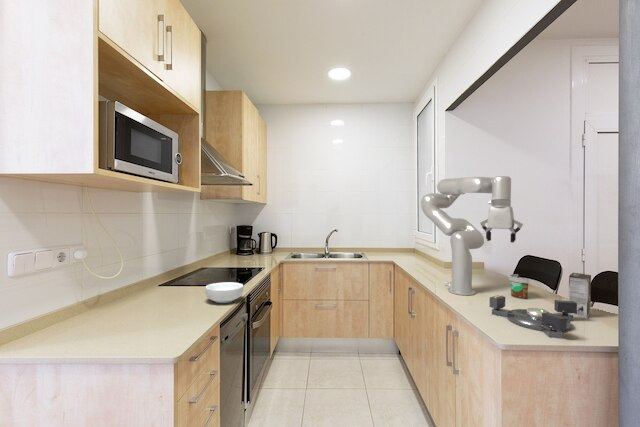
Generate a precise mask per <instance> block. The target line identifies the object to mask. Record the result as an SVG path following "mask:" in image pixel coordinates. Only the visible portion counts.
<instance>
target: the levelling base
mask: <svg viewBox="0 0 640 427" xmlns="http://www.w3.org/2000/svg"><path fill="white" fill-rule="evenodd" d="M553 308H554V311H555V312H556V313H555V312H554V313H552V312H549V311H548V310H547V309H544V308H538V307H528V308H526V309H524V308H523V309H522V308H516V309H510V310H509V309H505V308H498V309H495V308H492V309H491V315H494V316H498V317H503V318H506V319H507V320H508V322H510V323H512V324H513V325H517V326H519V327H522V328H526V329H530V330H533V331H539V332H542V333H543V334H545V335H546V336H547V337H548V338H555V339H563V333H565V332H568V331H570V330H571V322H573V321H574V315H570V314H571V313H575V314H577V303H576V302H574V301H569V300H561V299H559V300H558V299H554V307H553ZM568 313H569V314H568Z"/></svg>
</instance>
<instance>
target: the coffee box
mask: <svg viewBox="0 0 640 427" xmlns="http://www.w3.org/2000/svg"><path fill="white" fill-rule="evenodd" d="M568 279H569V280H568V301H574V302H576V303H577V314H575V313H571V314H570V315H573V317H574V316H575V317H580V318H586V319H587V318H589V316H590V314H591V305H592V304H591V302H592V301H591V298H592V297H591V295H592V293H591V292H592V275H591V274H585V273H580V272H579V273H578V272H572V273H571V274H569V276H568ZM568 314H569V313H568Z"/></svg>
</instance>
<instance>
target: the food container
mask: <svg viewBox="0 0 640 427" xmlns="http://www.w3.org/2000/svg"><path fill="white" fill-rule="evenodd" d="M508 280H509V282H510V295H511V297H512V298H515V299H516V298H517V299H521V300H528V297H529V295H528V293H529V285H530V279H529V278H524V277H521V276H519V274H518V273H516V274H510V275H509V277H508Z"/></svg>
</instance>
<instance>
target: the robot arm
mask: <svg viewBox="0 0 640 427" xmlns="http://www.w3.org/2000/svg"><path fill="white" fill-rule="evenodd" d="M436 189H437V191H438V193H433V192H432V193H427V194H424V195H423V196H422V198H421V200H420V205H421V210H422V212H423V214H424V215H425V216H426V218H428V219H429V220H430V221H431V222H432V223H433V224H434V225H435V226H436V227H437V228H438V230H440V231H441V232H442V233H443V234H444V235H445V236H448V237H450V239H449V240H450V241H449V242H450V247H451V248H450V249H451V281H450V282H448V281H444V286H445V287H448V292H449V293H450V294H454V295H459V296H474V295H476V290H474V289H473V288H472V287H473V283H472V282H473V256H472V253H471V251H470V250H477V249H480V248H482V246H484V243H485V239H486V240H487V242H490V241H492V232H491V231H492V230H494V229H498V230H509V231H510V232H511V233H510V243H512V244H513V243H515V241H516V239H517V238H516V234H517V233H518V232H519V231H520V230H521V229H522V227H523V226H524V225H523V223H521V222H520V221H518V220H516V219H515V216H514V209H513V206H511V205H512V203H511V202H512V178H511V177H510V176H509V175H507V176H506V175H501V176H500V175H499V176H494V177H491V176H490V177H489V176H469V177H457V178H456V177H454V178H444V179H441V180H439V181H438V183H437V184H436ZM467 193H469V194H475V193H476V194H491V200H488V203H487V204H488V205H491V206H489V208H488V214H487V219H485V220H483V221H481V222H480V223H479V224H480V226H481V228H482V229H483V230H484V231H485V234H486V235H485V237H486V238H485V239H484V235H483V234H482V233H481V231H480V230H479V229H477V228H476V227H475V226H474V225H473V224H472V223H471V222H469V221H468V220H467V219H464V218H454V217H451V216H450V214H448V213H447V212H446V211H444V210H443V209H448V208H449V207H451V206H452V205H453V204H454V203H455V202H456V200H457V199H458V198H459V197H460V195H465V194H467ZM486 224H487V226H486ZM515 225H517V227H516V228H515Z"/></svg>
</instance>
